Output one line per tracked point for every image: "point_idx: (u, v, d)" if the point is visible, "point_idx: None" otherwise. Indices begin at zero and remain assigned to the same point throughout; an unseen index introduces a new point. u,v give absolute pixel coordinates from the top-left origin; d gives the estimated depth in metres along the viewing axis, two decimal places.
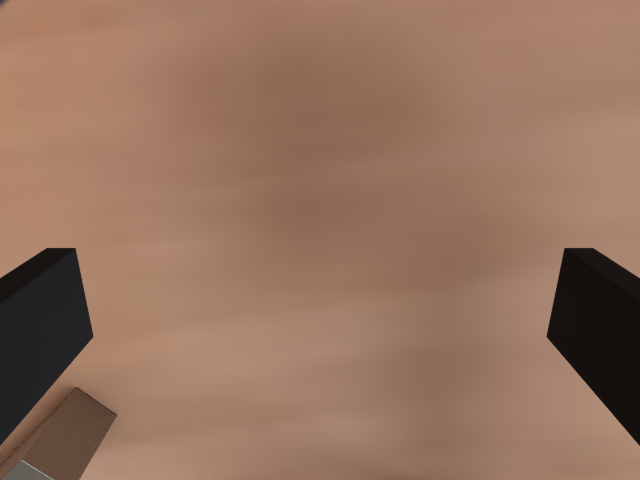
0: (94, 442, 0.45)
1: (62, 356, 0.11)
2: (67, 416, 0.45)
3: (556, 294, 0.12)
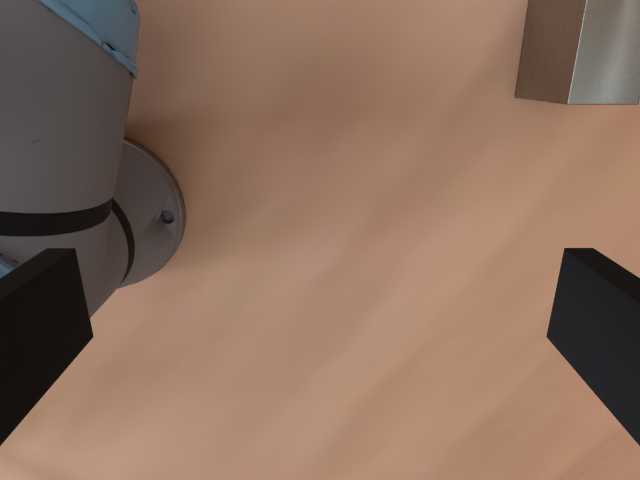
0: None
1: (62, 356, 0.11)
2: None
3: (556, 294, 0.12)
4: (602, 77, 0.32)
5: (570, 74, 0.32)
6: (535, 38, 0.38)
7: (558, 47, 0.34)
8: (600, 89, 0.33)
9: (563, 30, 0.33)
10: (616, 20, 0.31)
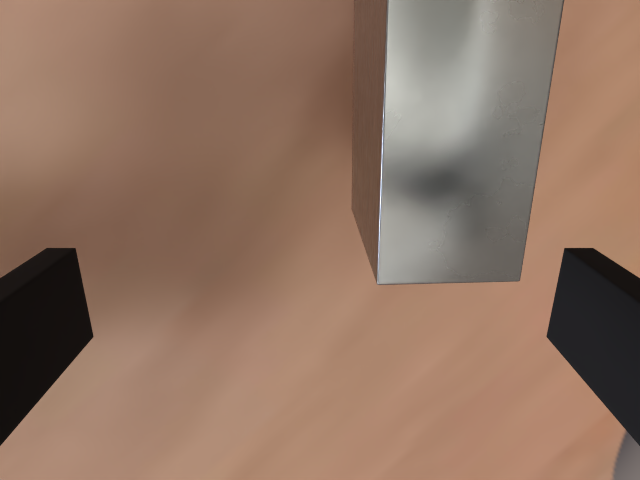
0: None
1: (62, 356, 0.11)
2: None
3: (556, 295, 0.12)
4: (441, 234, 0.16)
5: (377, 230, 0.16)
6: (358, 125, 0.21)
7: (369, 162, 0.17)
8: (440, 258, 0.16)
9: (371, 132, 0.17)
10: (455, 125, 0.14)
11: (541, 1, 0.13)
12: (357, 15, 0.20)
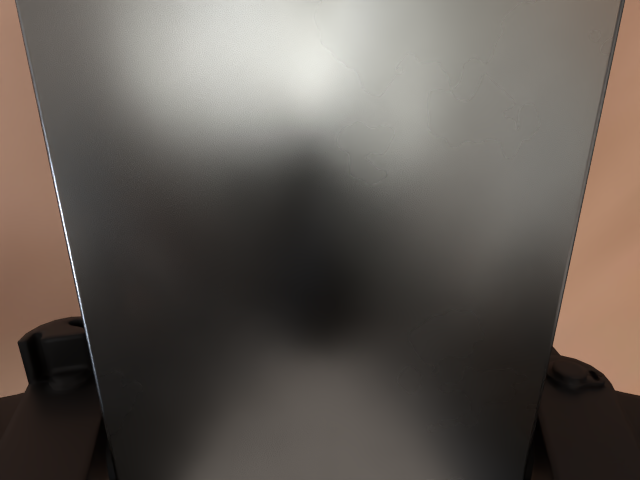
0: None
1: None
2: None
3: None
4: None
5: None
6: None
7: None
8: None
9: None
10: (296, 408, 0.05)
11: (532, 93, 0.04)
12: None
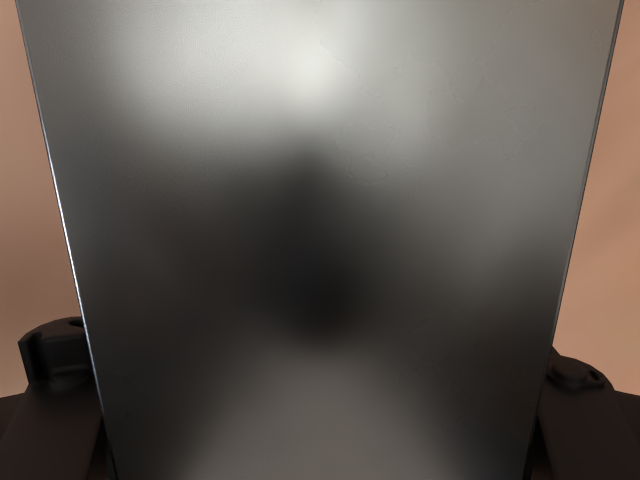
0: None
1: None
2: None
3: None
4: None
5: None
6: None
7: None
8: None
9: None
10: (296, 407, 0.05)
11: (531, 93, 0.04)
12: None
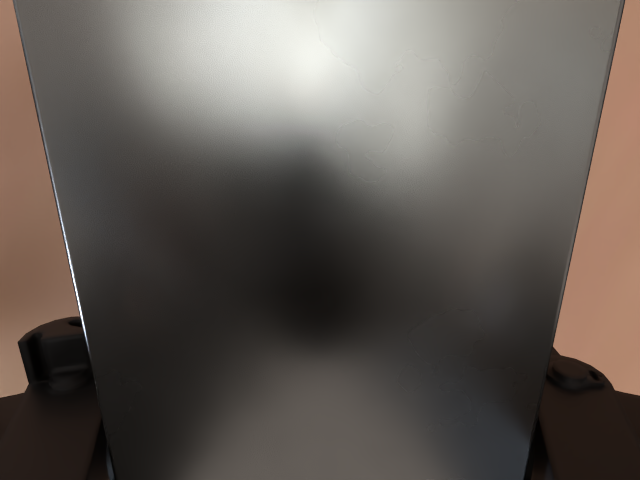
0: None
1: None
2: None
3: None
4: None
5: None
6: None
7: None
8: None
9: None
10: (295, 407, 0.05)
11: (532, 90, 0.04)
12: None
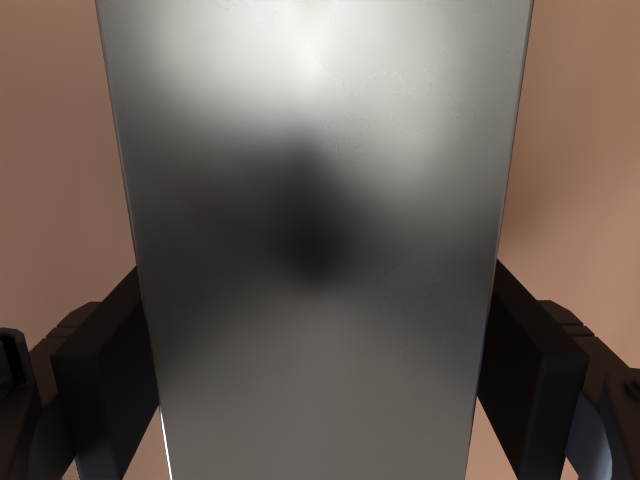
0: None
1: None
2: None
3: None
4: None
5: None
6: None
7: None
8: None
9: None
10: (297, 336, 0.07)
11: (468, 94, 0.06)
12: None
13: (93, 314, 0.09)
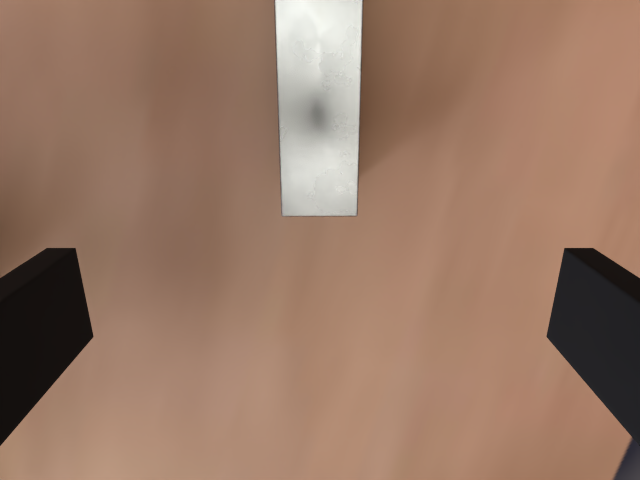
0: None
1: (62, 356, 0.11)
2: None
3: (556, 295, 0.12)
4: (313, 189, 0.30)
5: None
6: None
7: None
8: (313, 202, 0.31)
9: None
10: (314, 134, 0.29)
11: (350, 76, 0.28)
12: None
13: None
